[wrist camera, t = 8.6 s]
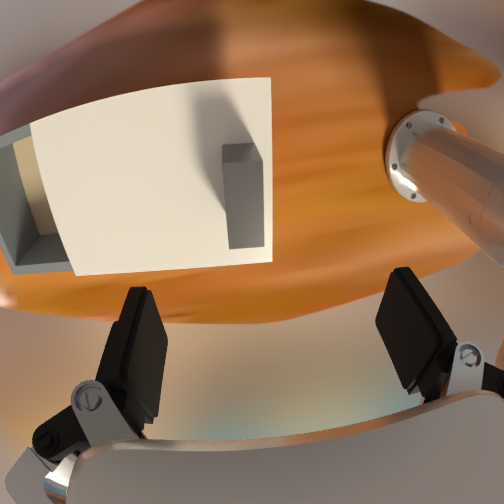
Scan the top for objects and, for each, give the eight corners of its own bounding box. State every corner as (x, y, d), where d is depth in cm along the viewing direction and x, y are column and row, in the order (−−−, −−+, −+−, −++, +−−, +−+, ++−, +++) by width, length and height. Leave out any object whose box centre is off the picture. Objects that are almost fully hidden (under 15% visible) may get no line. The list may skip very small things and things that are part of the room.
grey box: (149, 89, 24) (124, 93, 18) (168, 224, 34) (156, 264, 27) (9, 132, 23) (-31, 152, 17) (40, 239, 32) (13, 274, 26)
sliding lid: (269, 77, 18) (284, 77, 14) (270, 256, 27) (281, 298, 23) (34, 121, 17) (-6, 138, 12) (78, 271, 26) (58, 309, 21)
